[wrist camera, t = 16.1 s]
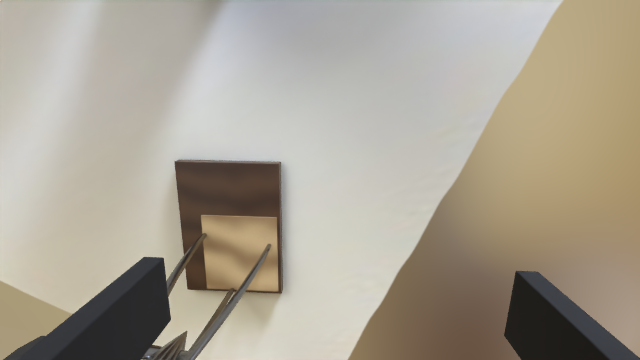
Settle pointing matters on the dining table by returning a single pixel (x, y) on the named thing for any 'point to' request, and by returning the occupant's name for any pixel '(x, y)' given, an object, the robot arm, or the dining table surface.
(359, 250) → the dining table surface
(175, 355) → the juicer
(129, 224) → the dining table surface
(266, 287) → the board
